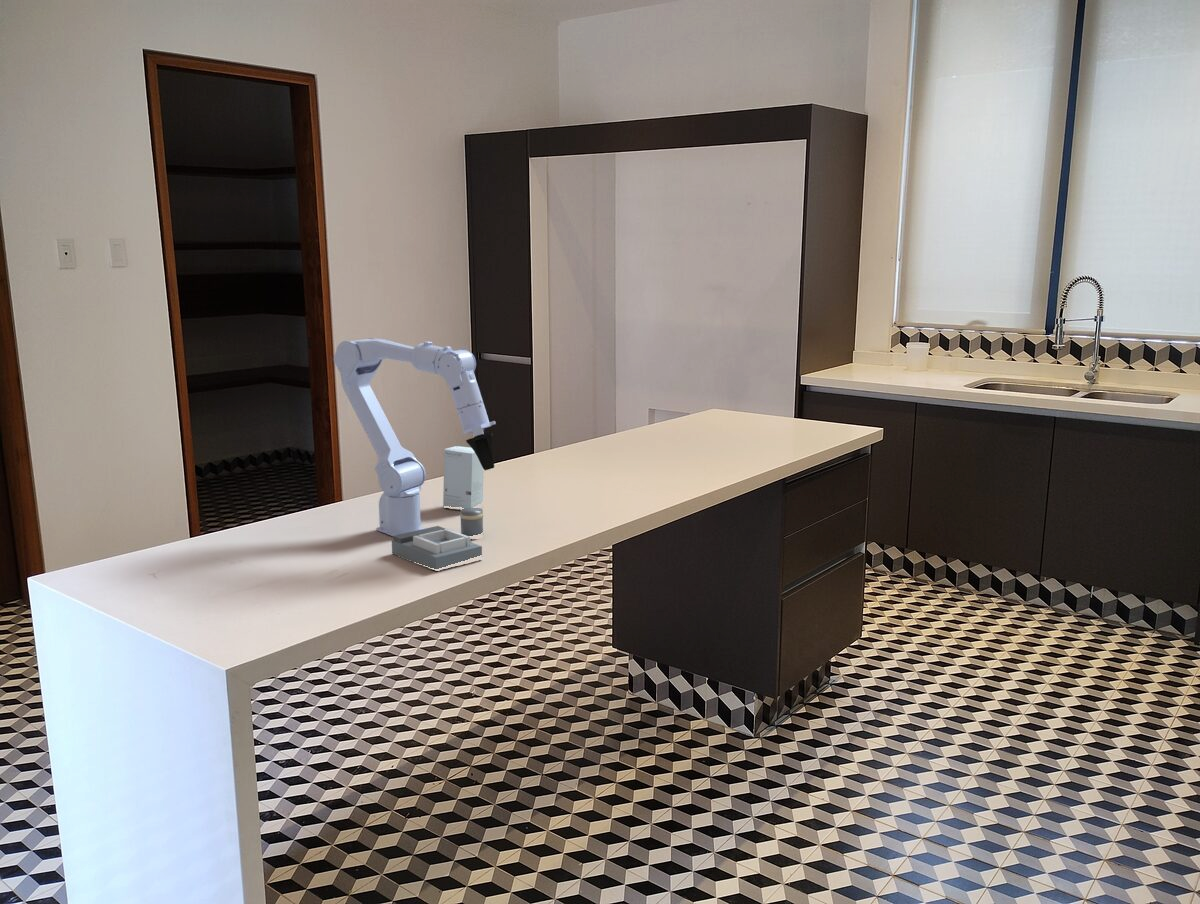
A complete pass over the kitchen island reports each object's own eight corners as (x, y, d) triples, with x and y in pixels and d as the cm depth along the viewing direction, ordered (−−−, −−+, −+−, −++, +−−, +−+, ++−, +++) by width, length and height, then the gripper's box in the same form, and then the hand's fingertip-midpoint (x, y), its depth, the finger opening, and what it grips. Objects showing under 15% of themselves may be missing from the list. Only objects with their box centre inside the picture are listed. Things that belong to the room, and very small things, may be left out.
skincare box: (442, 509, 234) (441, 449, 231) (456, 503, 240) (454, 444, 237) (472, 513, 231) (471, 452, 228) (485, 507, 236) (484, 447, 233)
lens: (456, 536, 212) (455, 510, 211) (474, 532, 215) (474, 506, 214) (469, 541, 208) (469, 514, 207) (488, 537, 212) (487, 510, 210)
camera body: (392, 554, 199) (391, 531, 198) (436, 543, 207) (436, 521, 206) (436, 572, 188) (435, 548, 187) (482, 560, 195) (481, 537, 194)
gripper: (488, 399, 194) (508, 463, 195) (488, 401, 209) (507, 462, 210) (454, 409, 194) (474, 474, 194) (457, 411, 208) (476, 471, 209)
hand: (489, 468), depth 202 cm, fingers open, 7 cm apart
